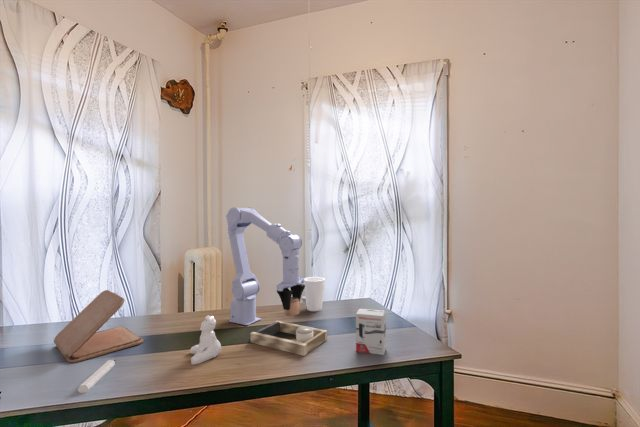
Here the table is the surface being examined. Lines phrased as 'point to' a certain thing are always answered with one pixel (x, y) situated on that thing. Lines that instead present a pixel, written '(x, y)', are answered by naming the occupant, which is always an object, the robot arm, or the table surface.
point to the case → (83, 338)
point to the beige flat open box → (290, 345)
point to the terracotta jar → (293, 307)
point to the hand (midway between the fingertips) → (291, 307)
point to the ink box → (371, 331)
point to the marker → (96, 376)
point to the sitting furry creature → (206, 342)
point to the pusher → (270, 329)
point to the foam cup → (314, 292)
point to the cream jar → (304, 334)
